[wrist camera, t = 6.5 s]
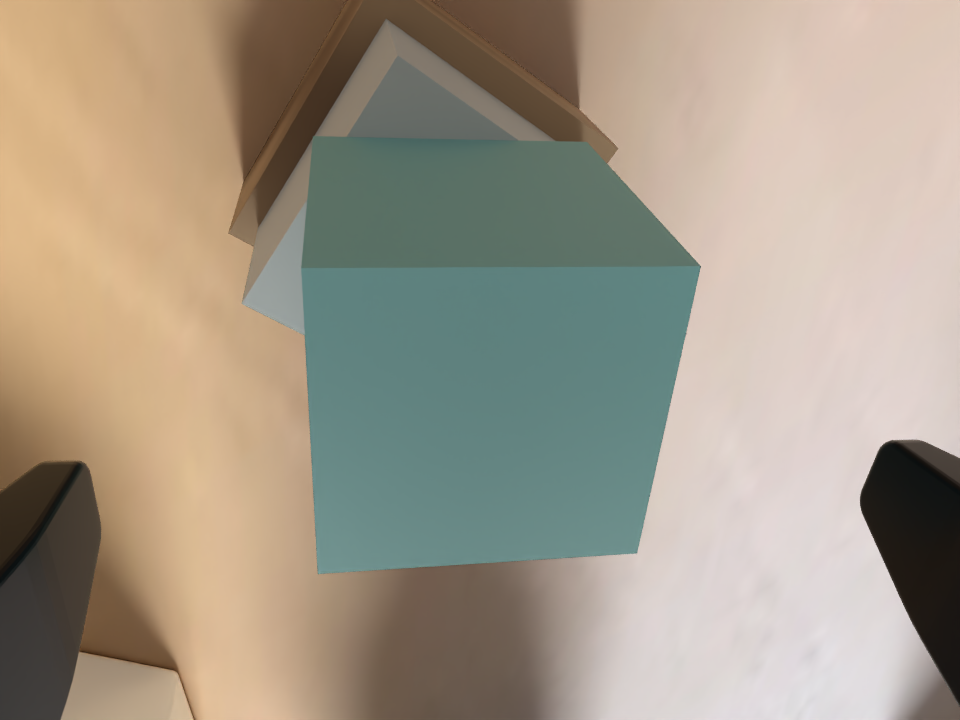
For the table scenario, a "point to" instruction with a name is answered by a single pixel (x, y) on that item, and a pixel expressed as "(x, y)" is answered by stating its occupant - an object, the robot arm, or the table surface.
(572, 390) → the teal block
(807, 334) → the table surface
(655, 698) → the table surface
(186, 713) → the jar
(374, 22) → the walnut block
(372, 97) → the grey block
